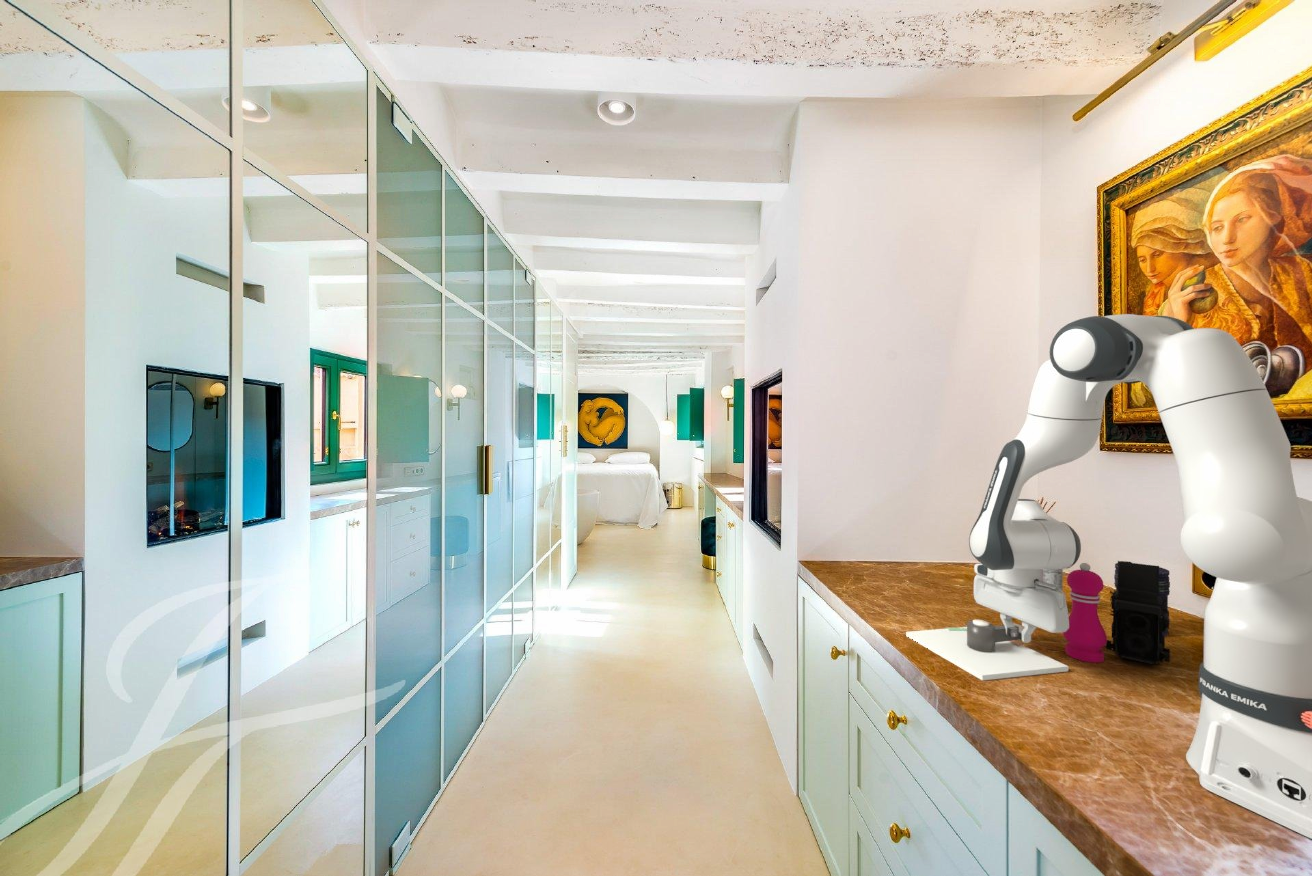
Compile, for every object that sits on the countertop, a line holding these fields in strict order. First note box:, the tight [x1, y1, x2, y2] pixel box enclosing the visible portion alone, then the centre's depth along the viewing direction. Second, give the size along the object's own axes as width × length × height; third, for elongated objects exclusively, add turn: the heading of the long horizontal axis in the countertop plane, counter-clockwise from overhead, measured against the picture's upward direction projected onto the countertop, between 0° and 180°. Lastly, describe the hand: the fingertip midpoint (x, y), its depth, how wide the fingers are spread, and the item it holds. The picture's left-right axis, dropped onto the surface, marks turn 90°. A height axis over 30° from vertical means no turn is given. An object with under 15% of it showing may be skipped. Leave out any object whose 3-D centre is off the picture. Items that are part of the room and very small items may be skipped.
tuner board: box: [905, 626, 1069, 681], centre depth 112 cm, size 22×20×1 cm
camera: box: [1105, 560, 1171, 666], centre depth 108 cm, size 10×14×20 cm
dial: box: [966, 619, 1024, 652], centre depth 113 cm, size 13×5×5 cm, turn 104°
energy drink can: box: [1043, 569, 1064, 591], centre depth 139 cm, size 6×6×15 cm
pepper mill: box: [1062, 562, 1108, 664], centre depth 110 cm, size 7×7×20 cm
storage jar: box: [1113, 562, 1171, 637], centre depth 125 cm, size 10×10×15 cm
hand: (1017, 638), depth 110 cm, fingers closed
